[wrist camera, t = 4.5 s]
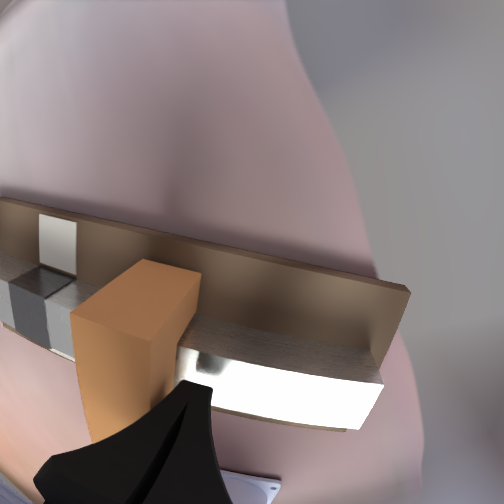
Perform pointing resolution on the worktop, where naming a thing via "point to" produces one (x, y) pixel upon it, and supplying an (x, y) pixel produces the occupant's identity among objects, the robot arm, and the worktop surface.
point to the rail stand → (213, 314)
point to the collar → (131, 343)
